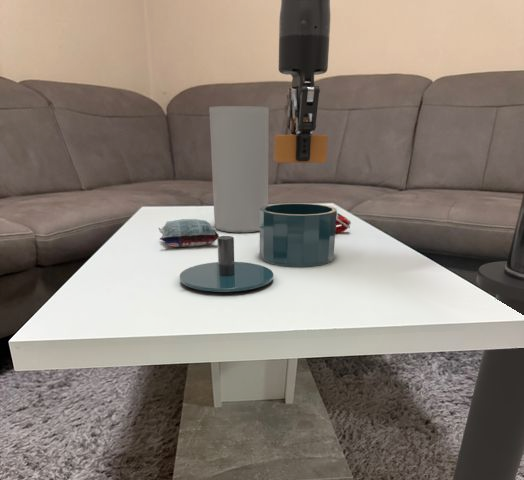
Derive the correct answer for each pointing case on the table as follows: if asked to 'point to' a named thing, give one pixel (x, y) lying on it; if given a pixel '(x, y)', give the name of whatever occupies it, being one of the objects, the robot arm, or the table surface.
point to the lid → (226, 272)
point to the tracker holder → (342, 223)
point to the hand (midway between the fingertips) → (299, 159)
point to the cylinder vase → (239, 166)
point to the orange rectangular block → (287, 149)
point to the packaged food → (188, 233)
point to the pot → (297, 234)
